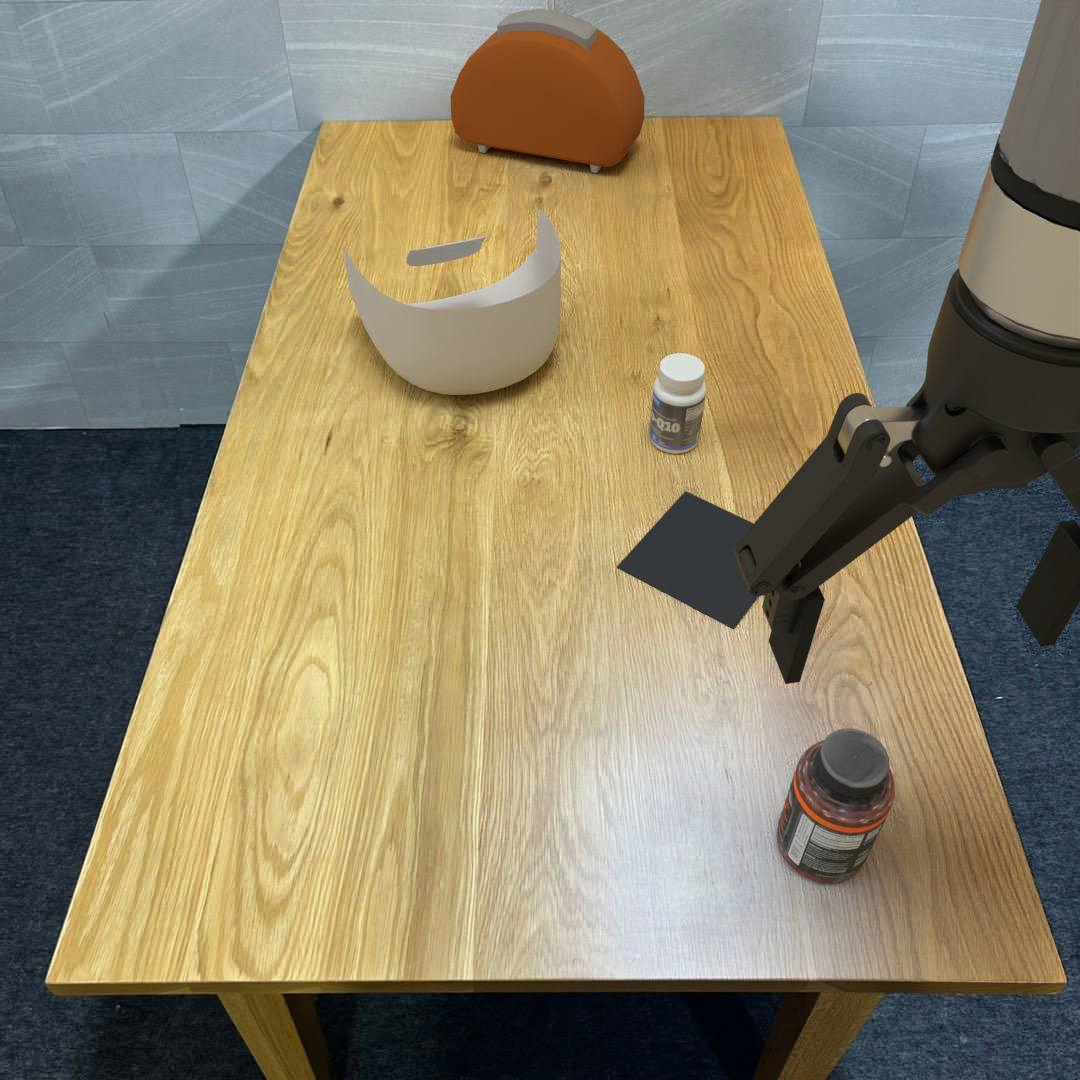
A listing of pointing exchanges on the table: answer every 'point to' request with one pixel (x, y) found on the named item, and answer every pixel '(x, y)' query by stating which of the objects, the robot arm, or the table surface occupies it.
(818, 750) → the supplement bottle
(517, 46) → the orange toaster
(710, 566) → the mat
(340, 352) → the table surface
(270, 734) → the table surface
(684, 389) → the pill bottle
